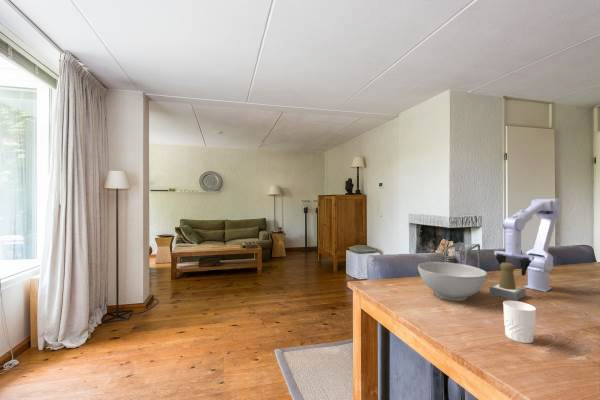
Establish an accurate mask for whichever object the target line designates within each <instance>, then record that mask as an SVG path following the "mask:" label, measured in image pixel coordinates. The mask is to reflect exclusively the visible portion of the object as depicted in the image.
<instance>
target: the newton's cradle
mask: <svg viewBox="0 0 600 400" xmlns="http://www.w3.org/2000/svg"><path fill="white" fill-rule="evenodd" d="M465 245H468V246H466V247H465ZM476 248H477V268H479V269H481V244H480V243H477V244H476V243H471V244H470V243H467V242H462V241H458V242H456V243H454V244H452V245H449V246H446V247H445V249H444V262H448V250H454V251H456V252H457V254H458V256H457V257H458V259H457V257H456V258H455V260H456V261H458V262H459V263H458V262H457V264H463V265H468V266H470V264H469V260H470V258H469V257H470V254H471V253H470V252H471V250H474V249H476ZM458 251H459V253H458ZM456 252H454V253H455V255H457V254H456ZM462 253H463V254H462Z"/></svg>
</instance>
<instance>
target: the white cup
mask: <svg viewBox="0 0 600 400" xmlns="http://www.w3.org/2000/svg"><path fill="white" fill-rule="evenodd" d="M502 305H503V306H502V308H503V309H502V310H503V324H504V334H505V336H506V338H508V339H510V340H512V341H516V342H518V343H523V344H531V343H534V339H535V338H534V337H535V336H534V335H535V328H536V319H537V316H536V315H537V308H536V307H535V306H534V305H532V304H528V303H525V302H522V301H518V300H517V301H516V300H505V301H503V302H502Z"/></svg>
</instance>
